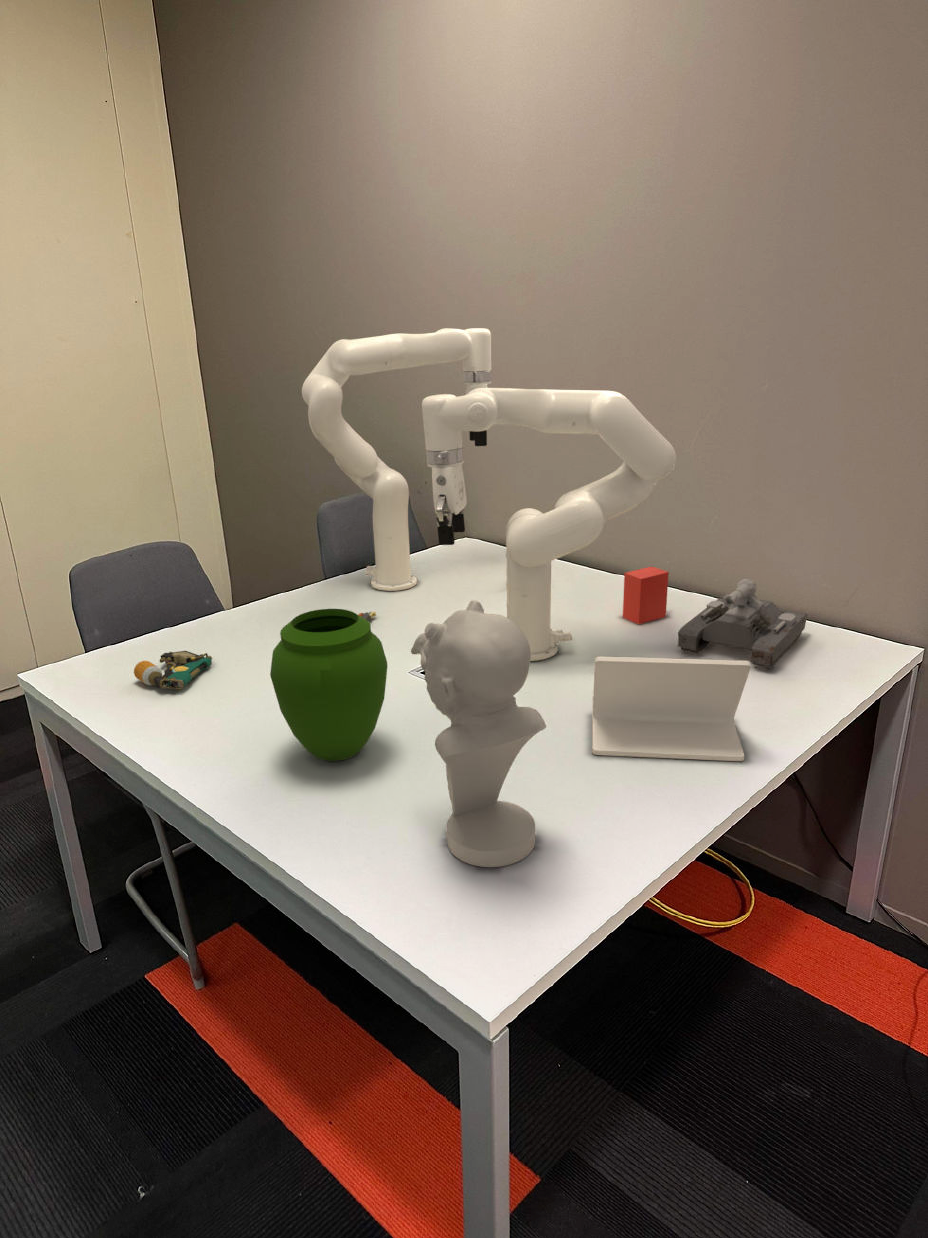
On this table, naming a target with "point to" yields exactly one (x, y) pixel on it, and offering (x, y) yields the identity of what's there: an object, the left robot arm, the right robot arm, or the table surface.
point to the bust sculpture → (481, 729)
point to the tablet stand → (667, 707)
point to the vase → (330, 681)
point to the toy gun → (367, 615)
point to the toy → (744, 626)
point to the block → (645, 595)
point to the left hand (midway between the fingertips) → (478, 443)
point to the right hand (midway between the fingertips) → (452, 538)
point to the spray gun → (172, 669)
